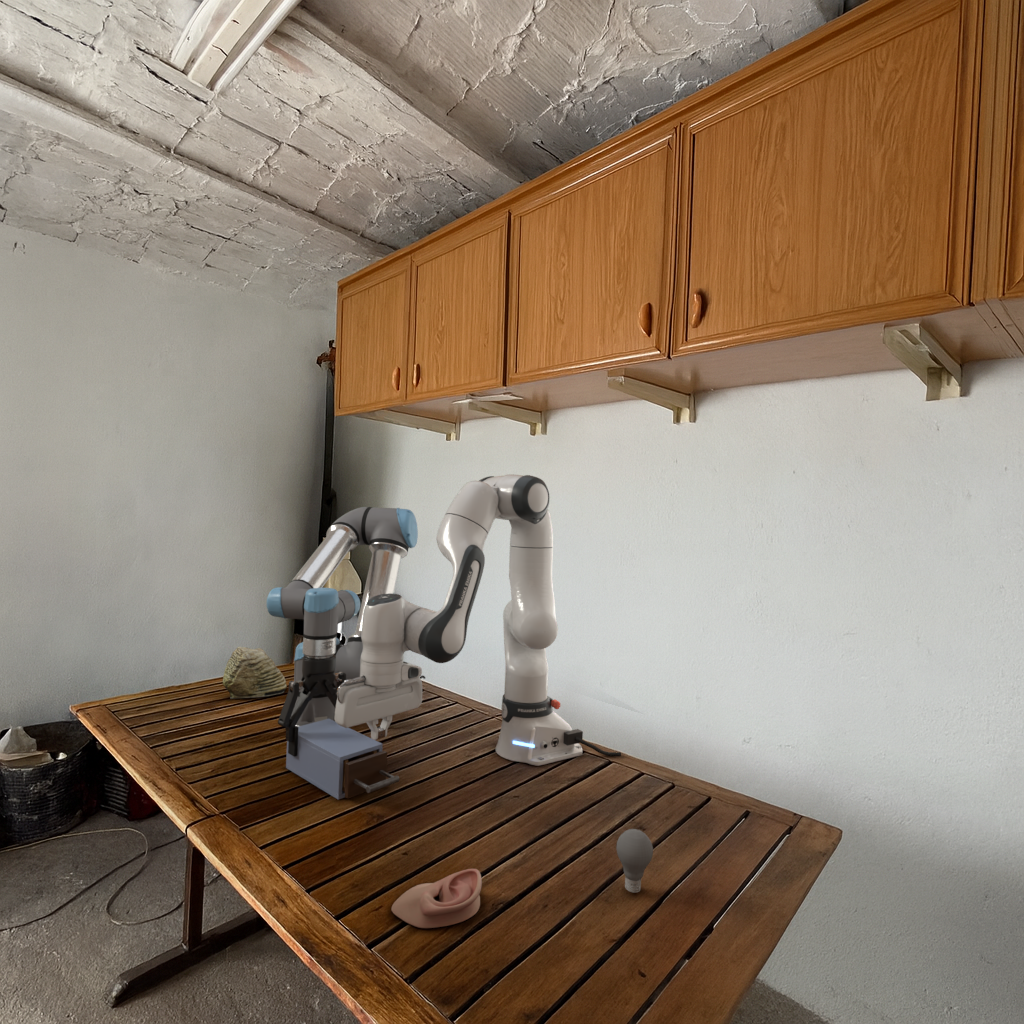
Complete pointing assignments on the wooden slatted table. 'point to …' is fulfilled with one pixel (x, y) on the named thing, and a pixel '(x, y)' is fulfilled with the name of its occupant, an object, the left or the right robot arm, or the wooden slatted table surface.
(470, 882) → the anatomical model
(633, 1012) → the wooden slatted table surface
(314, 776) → the cabinet
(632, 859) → the light bulb
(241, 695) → the fossil
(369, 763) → the drawer
